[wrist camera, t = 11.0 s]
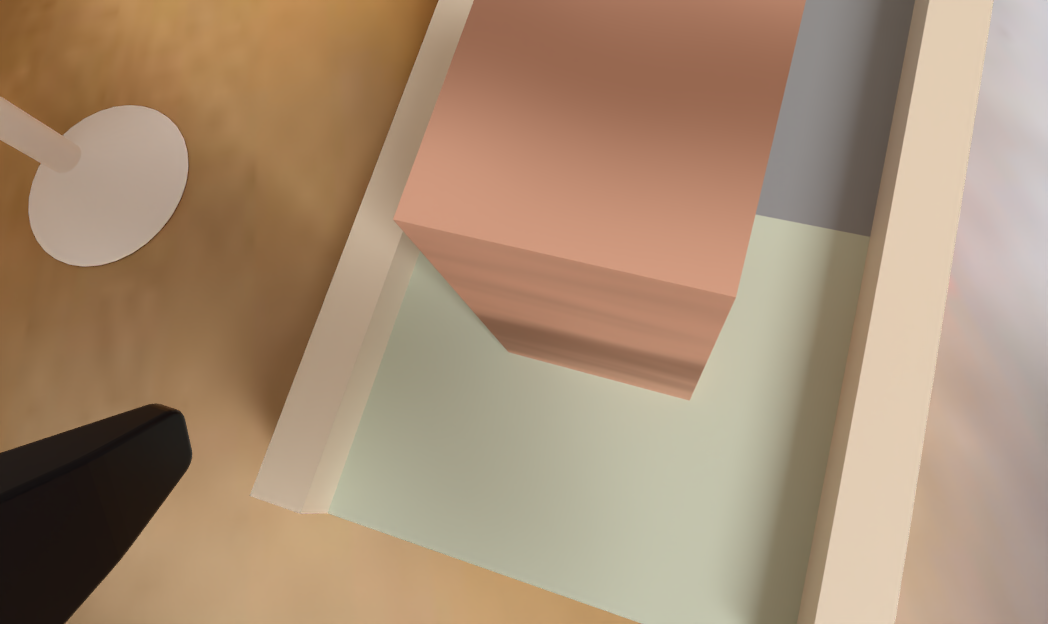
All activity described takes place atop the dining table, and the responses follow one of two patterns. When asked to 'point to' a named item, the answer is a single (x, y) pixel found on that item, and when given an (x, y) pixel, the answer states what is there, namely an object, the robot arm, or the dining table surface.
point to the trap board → (722, 390)
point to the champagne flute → (100, 180)
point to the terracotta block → (602, 175)
